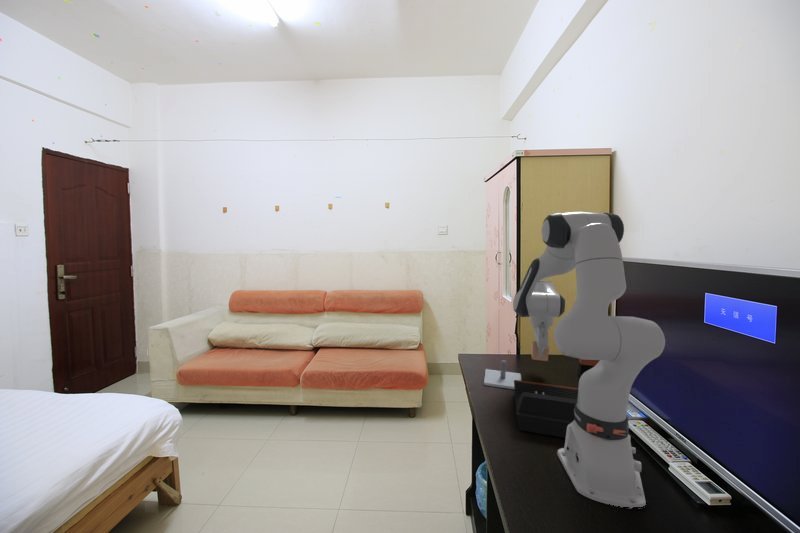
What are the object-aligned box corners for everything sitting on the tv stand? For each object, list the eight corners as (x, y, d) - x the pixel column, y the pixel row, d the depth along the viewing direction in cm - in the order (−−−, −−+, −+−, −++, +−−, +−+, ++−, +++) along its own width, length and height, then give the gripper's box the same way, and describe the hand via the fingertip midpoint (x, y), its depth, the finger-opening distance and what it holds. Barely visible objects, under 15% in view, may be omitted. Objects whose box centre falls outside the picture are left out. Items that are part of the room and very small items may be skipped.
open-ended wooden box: (547, 361, 141) (548, 346, 140) (532, 359, 142) (533, 345, 142) (546, 356, 146) (547, 342, 146) (531, 354, 148) (532, 340, 148)
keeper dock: (521, 390, 132) (523, 370, 131) (483, 385, 136) (484, 365, 135) (520, 375, 145) (521, 357, 144) (485, 371, 149) (486, 353, 148)
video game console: (598, 407, 121) (601, 379, 120) (622, 451, 97) (625, 417, 96) (512, 394, 129) (514, 368, 128) (515, 432, 105) (517, 400, 104)
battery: (598, 379, 143) (600, 356, 142) (580, 377, 144) (581, 354, 143) (595, 375, 147) (597, 352, 146) (577, 373, 149) (579, 350, 148)
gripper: (553, 327, 132) (550, 362, 133) (547, 315, 152) (545, 346, 153) (535, 325, 134) (533, 360, 135) (531, 314, 153) (530, 344, 155)
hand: (539, 352), depth 144 cm, fingers closed on open-ended wooden box, 6 cm apart
